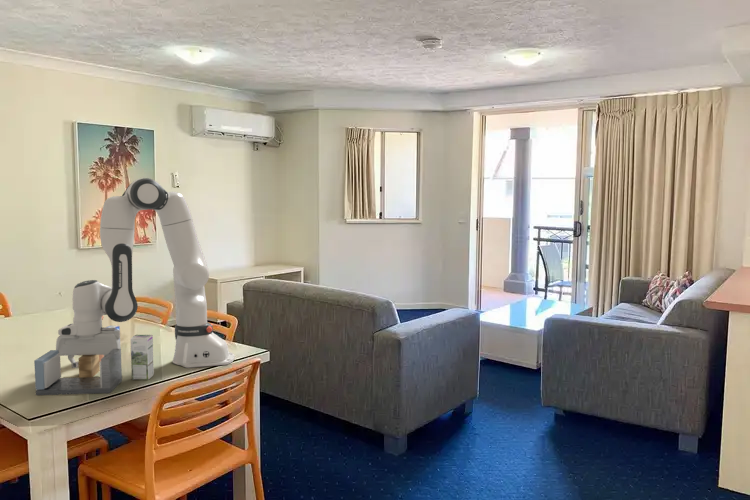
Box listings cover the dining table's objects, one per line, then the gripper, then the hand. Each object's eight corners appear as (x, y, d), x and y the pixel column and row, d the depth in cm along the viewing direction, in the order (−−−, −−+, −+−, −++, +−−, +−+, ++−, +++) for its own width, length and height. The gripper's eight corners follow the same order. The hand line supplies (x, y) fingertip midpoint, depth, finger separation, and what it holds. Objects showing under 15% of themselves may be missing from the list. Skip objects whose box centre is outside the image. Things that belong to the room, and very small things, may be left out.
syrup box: (154, 374, 201) (153, 333, 200) (148, 380, 196) (147, 338, 194) (137, 374, 201) (136, 333, 200) (131, 380, 195) (129, 338, 194)
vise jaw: (61, 377, 192) (60, 349, 191) (45, 389, 180) (44, 360, 179) (52, 377, 192) (50, 350, 191) (35, 389, 180) (34, 360, 179)
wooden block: (99, 371, 205) (99, 351, 204) (91, 378, 197) (90, 358, 197) (87, 371, 205) (87, 351, 204) (79, 378, 197) (78, 358, 196)
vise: (121, 380, 195) (120, 348, 194) (110, 393, 183) (109, 358, 182) (52, 382, 192) (50, 350, 191) (35, 395, 180) (34, 360, 179)
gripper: (122, 325, 204) (123, 363, 205) (60, 326, 201) (62, 365, 203) (116, 329, 198) (118, 369, 199) (53, 330, 195) (54, 370, 196)
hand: (89, 367), depth 201 cm, fingers open, 8 cm apart
